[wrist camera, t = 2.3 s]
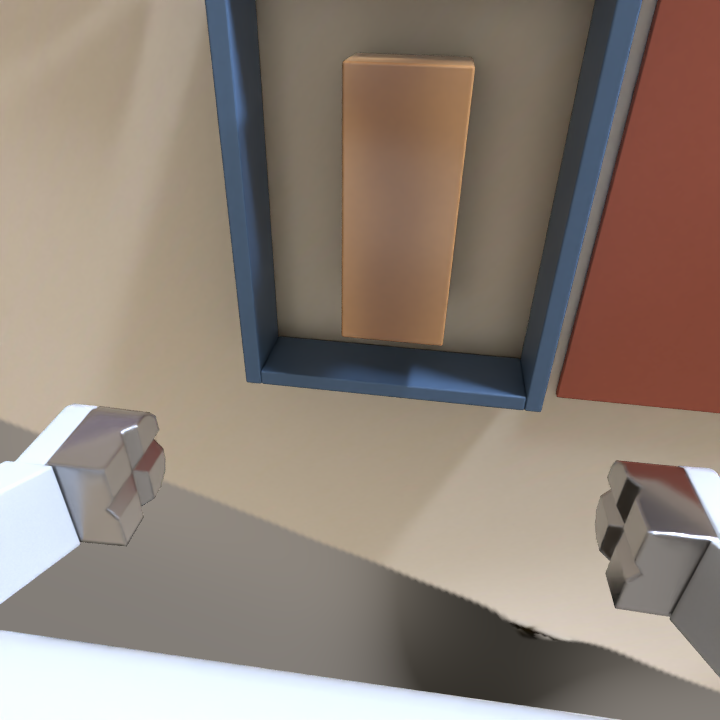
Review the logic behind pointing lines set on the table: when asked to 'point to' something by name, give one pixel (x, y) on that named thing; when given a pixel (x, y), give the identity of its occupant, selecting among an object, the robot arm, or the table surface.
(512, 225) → the table surface
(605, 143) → the rectangular frame
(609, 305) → the mat
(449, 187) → the brown rectangular block
